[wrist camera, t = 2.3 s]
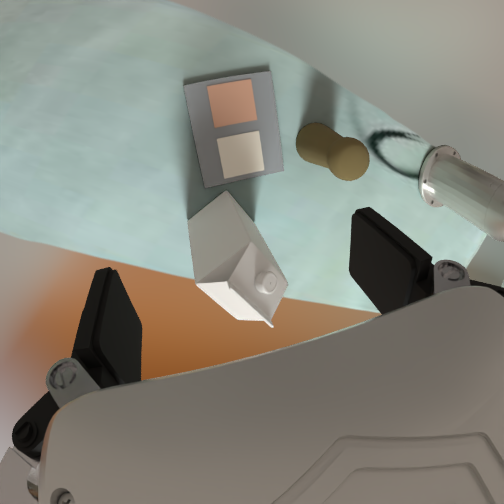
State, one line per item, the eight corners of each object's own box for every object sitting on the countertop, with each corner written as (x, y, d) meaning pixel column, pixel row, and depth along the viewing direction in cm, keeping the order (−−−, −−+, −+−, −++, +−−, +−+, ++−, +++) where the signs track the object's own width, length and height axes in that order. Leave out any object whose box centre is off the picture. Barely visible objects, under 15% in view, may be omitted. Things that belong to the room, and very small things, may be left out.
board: (268, 71, 34) (271, 71, 33) (281, 169, 41) (284, 171, 40) (183, 85, 32) (183, 85, 31) (204, 186, 40) (205, 188, 39)
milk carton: (217, 252, 46) (245, 346, 30) (186, 220, 42) (198, 310, 26) (255, 223, 45) (302, 307, 29) (226, 188, 41) (263, 263, 25)
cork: (303, 169, 42) (339, 195, 33) (290, 131, 39) (326, 147, 30) (338, 154, 42) (381, 176, 33) (327, 116, 39) (371, 130, 30)
